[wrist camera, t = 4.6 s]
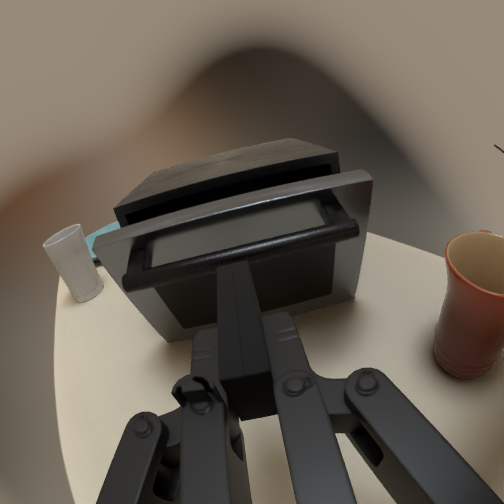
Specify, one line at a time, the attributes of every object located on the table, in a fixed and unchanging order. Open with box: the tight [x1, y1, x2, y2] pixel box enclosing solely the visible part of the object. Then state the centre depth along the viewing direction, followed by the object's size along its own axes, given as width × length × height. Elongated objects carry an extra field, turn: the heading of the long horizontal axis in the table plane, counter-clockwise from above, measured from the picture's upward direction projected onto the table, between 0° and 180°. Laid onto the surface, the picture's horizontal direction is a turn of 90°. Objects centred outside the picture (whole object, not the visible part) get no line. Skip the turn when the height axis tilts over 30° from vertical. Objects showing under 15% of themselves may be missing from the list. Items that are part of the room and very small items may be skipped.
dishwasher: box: [114, 138, 340, 228], centre depth 36 cm, size 18×22×16 cm
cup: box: [43, 224, 103, 303], centre depth 42 cm, size 8×8×12 cm
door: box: [92, 169, 373, 343], centre depth 24 cm, size 5×22×16 cm, turn 97°
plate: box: [85, 221, 121, 261], centre depth 63 cm, size 22×22×3 cm
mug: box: [434, 230, 504, 379], centre depth 17 cm, size 12×9×10 cm
